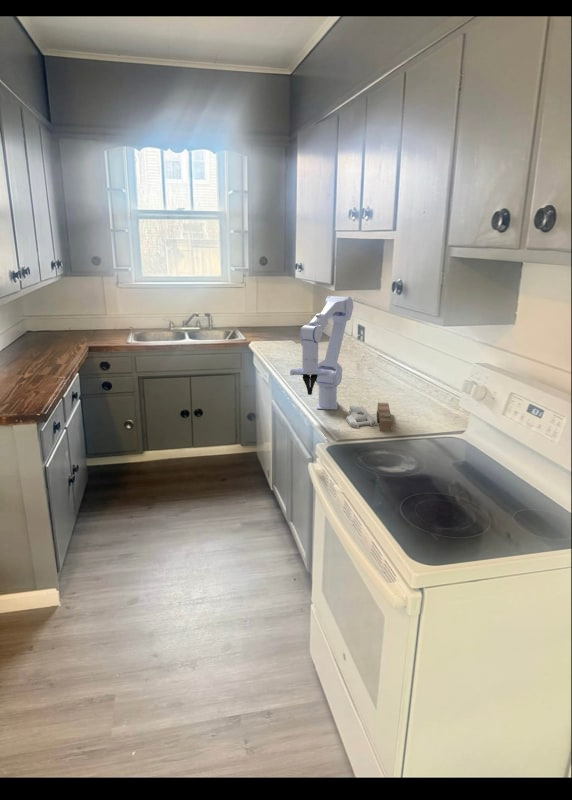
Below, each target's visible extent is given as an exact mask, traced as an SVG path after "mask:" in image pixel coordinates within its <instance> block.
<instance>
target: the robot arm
mask: <svg viewBox="0 0 572 800" xmlns="http://www.w3.org/2000/svg"><path fill="white" fill-rule="evenodd" d="M353 310H354V301H353V299H352V296H336V295H328V296H327V297H326V298H325V301H324V307H323V309H322V311H321V312H320V313H316V314H315V315H314V316H313V317H312V319H310V321H309V322H308V323H307V324H305V325H303V326H302V327H300V328H299V329H300V330H299V336H298V337H299V340H300V344H301V347H302V349H301V350H302V355H301V357H302V366H301V367H302V368H290V369H289V375H290V376H302V380H303V382H304V384H305V386H306V391H307V395H308V396H312V395H313V389H314V385H315V384H316V385H317V386H318V401H317V406H316V409H317V410H338V404H339V403H338V402H339V401H338V400H337V398H338V396H337V395H338V386H339V385H340V384H341V382H342V378H343V367H342V365H340V364H339V363H338V360H339V357H340V356H339V355H340V353H341V347H342V344H343V343H342V342H343V339H344V335H345V330H346V326H347V322H349V321H350V320H351V317H352V315H353V314H352V313H353ZM330 319H331V320H332V322H333V324H332V328H331V332H330V336H329V340H328V344H327V349H326V354H325V356H324V357H325V358H324V359H323V360H322V361H320V362H319V342H320V341H321V339H322V335H323V332H324V330H325V329H326V327H328V325H329V320H330Z"/></svg>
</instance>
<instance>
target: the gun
mask: <svg viewBox="0 0 572 800" xmlns="http://www.w3.org/2000/svg"><path fill="white" fill-rule="evenodd" d="M348 412H349V415H347V416H346V421H347V423H348V424H349V425H348V426H350V427H351V428H355V429H360V426H367V425H369V427H373V426H375V425H376V421H375V419H374V418H373V415H372V414H370V413H369V412H368V411H367V408H366V407H364V405H350V406H349V410H348Z"/></svg>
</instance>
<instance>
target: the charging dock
mask: <svg viewBox="0 0 572 800" xmlns="http://www.w3.org/2000/svg"><path fill="white" fill-rule="evenodd" d="M376 424H378V427H379V431H380V432H392V429H393V428H392V426H393V418H392V413H391V408H390V404H389V402H377V410H376Z"/></svg>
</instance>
